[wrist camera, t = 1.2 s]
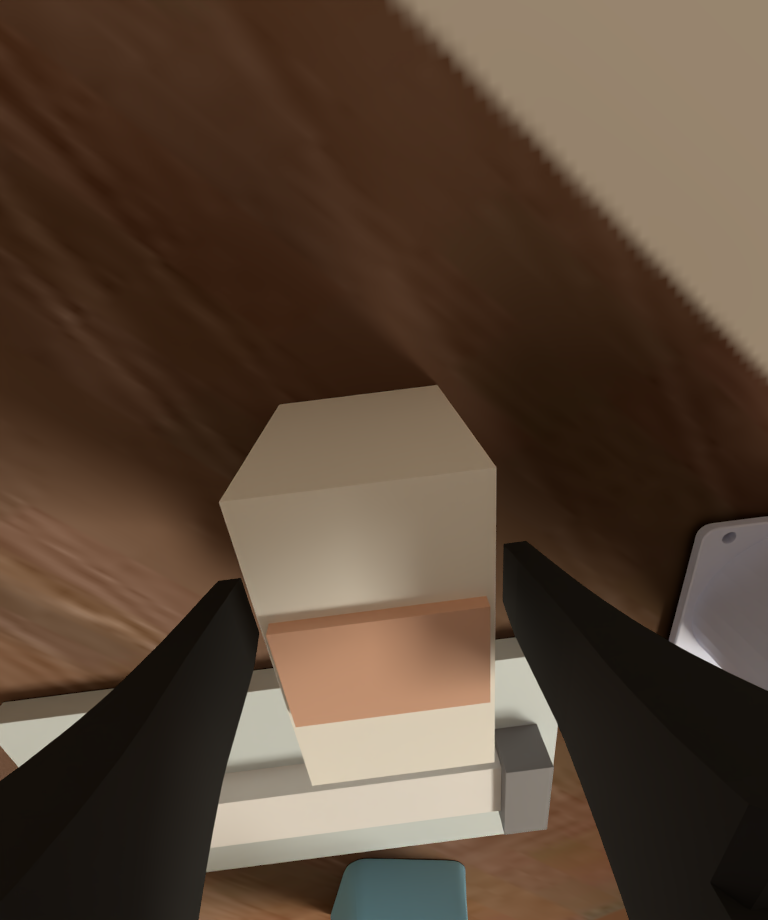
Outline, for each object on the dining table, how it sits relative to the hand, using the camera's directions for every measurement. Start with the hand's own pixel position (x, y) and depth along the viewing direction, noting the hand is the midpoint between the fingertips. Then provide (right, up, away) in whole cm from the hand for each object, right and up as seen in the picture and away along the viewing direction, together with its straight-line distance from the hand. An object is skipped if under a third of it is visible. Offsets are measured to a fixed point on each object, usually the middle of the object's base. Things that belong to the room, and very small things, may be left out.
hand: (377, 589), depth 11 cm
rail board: (-4, -12, +9) cm, 15 cm away
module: (0, +2, +3) cm, 4 cm away
